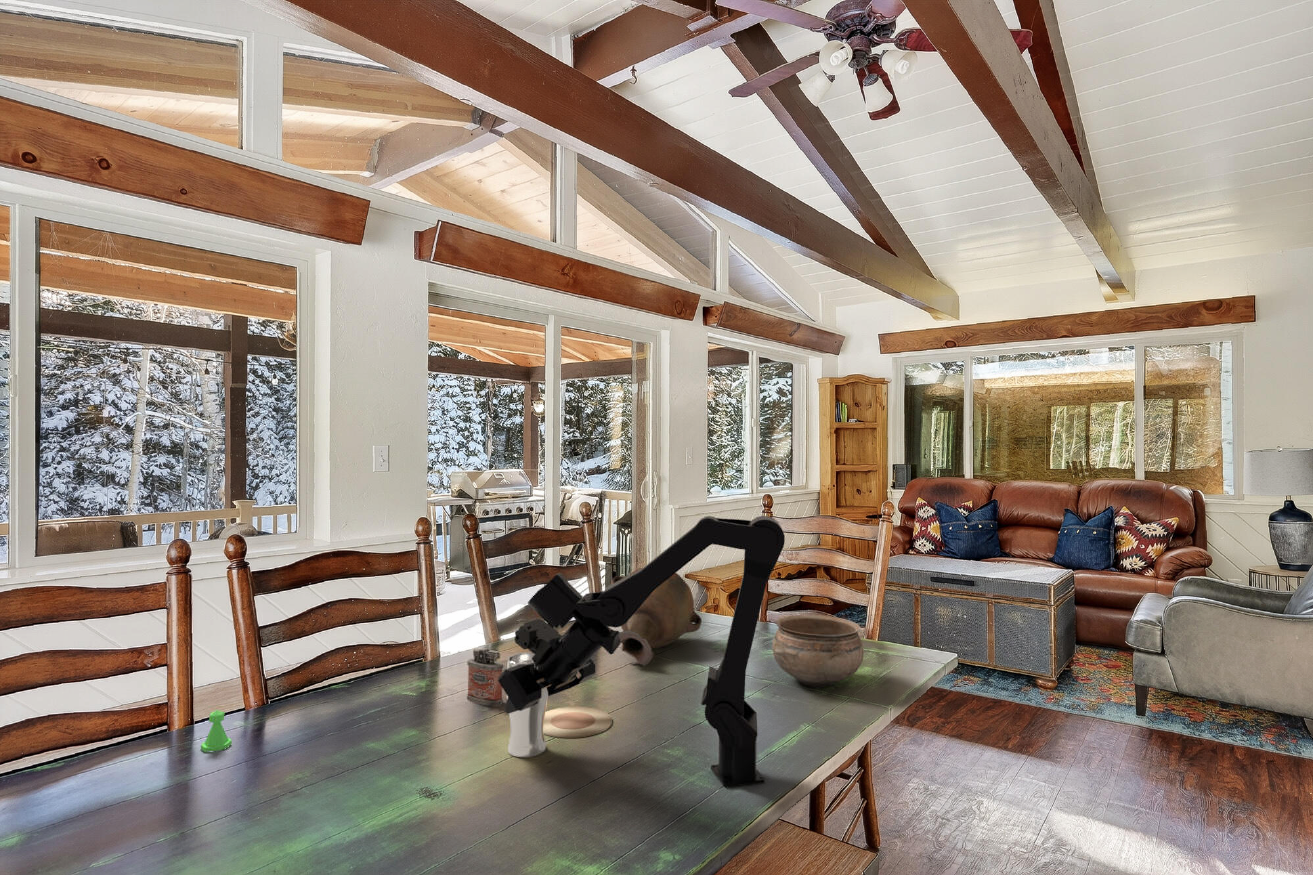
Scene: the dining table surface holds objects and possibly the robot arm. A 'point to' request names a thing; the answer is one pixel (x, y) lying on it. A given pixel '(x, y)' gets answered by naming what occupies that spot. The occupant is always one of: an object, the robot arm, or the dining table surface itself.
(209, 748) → the game piece
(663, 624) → the jug
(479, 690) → the lighter
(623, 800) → the dining table surface
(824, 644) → the cooking pot
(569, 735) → the coaster
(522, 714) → the silver tall cup
